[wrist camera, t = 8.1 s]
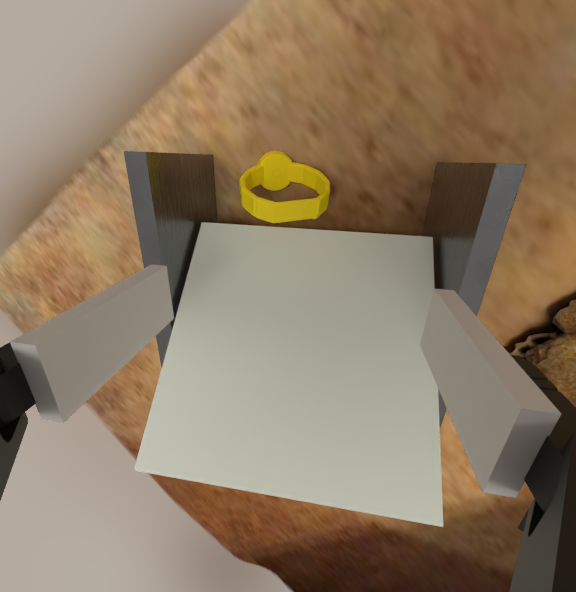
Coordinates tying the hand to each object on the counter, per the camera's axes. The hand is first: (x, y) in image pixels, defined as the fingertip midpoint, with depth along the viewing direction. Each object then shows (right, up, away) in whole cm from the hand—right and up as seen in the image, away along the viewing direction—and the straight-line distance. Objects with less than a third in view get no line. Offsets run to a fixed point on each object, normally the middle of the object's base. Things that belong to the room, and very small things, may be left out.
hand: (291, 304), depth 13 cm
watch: (0, +5, +5) cm, 7 cm away
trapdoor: (0, -3, +5) cm, 6 cm away
